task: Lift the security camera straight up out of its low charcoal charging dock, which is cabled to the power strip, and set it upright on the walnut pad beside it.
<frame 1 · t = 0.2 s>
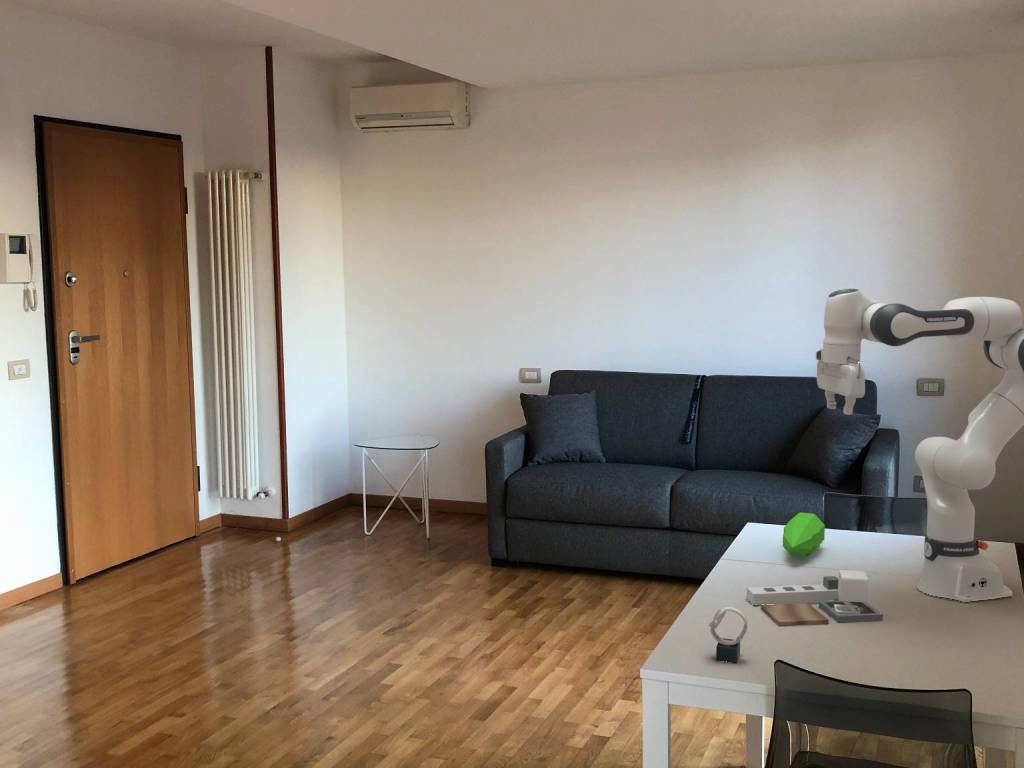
hand: (839, 411, 261), 47 cm above the table, tool pointing down, fingers open, 8 cm apart
watch: (727, 658, 227), on the table
green faceted elongated piece: (799, 555, 304), on the table
walnut pad: (793, 616, 253), on the table
security camera: (849, 614, 255), resting in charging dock
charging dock: (850, 613, 255), on the table
power strip: (792, 600, 264), on the table
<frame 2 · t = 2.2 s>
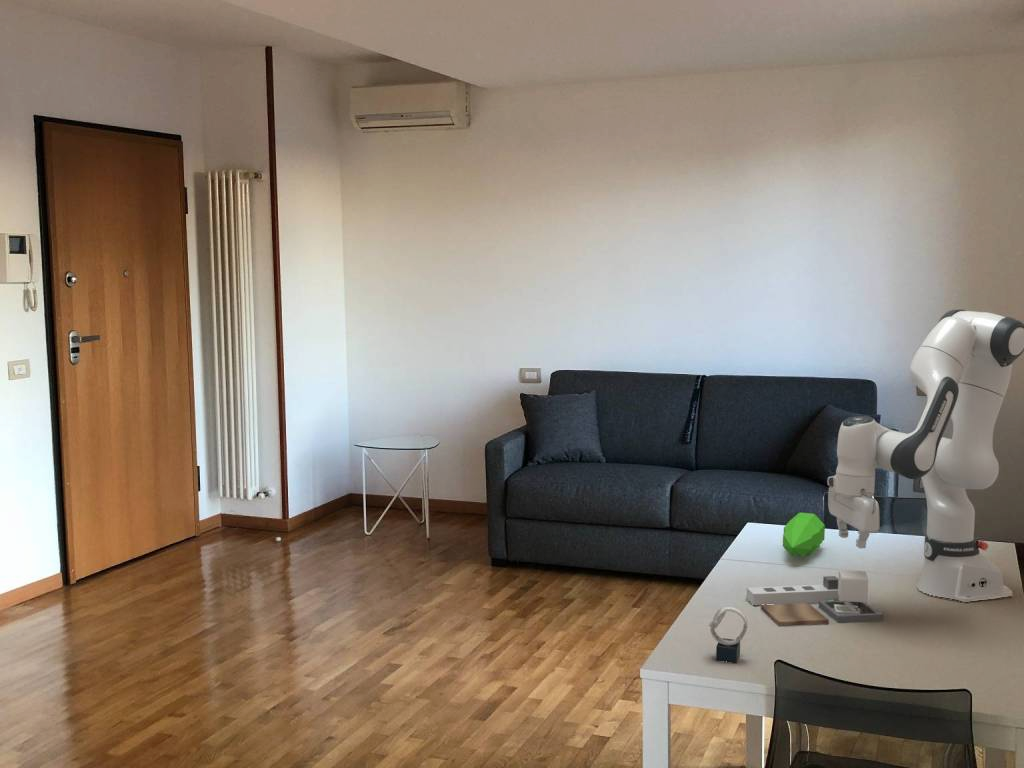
hand: (851, 542, 252), 18 cm above the table, tool pointing down, fingers open, 8 cm apart
nothing on the table moved.
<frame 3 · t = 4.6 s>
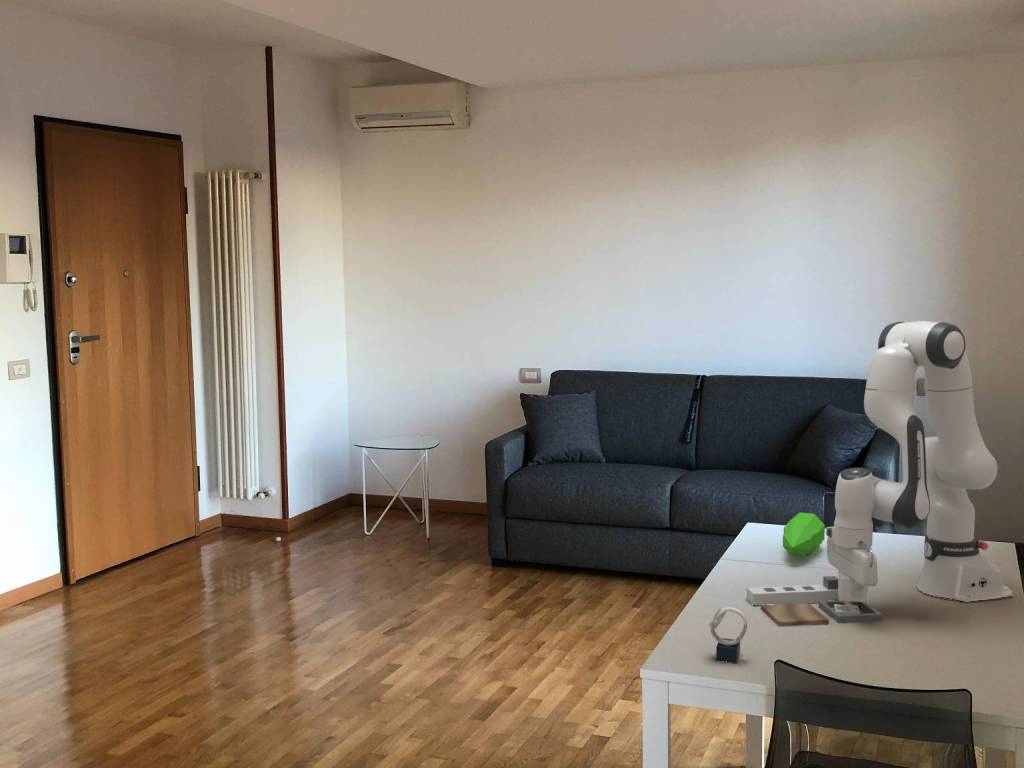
hand: (850, 593, 254), 5 cm above the table, tool pointing down, fingers closed on security camera, 5 cm apart
security camera: (849, 614, 255), resting in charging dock, touching gripper
everything else where it was.
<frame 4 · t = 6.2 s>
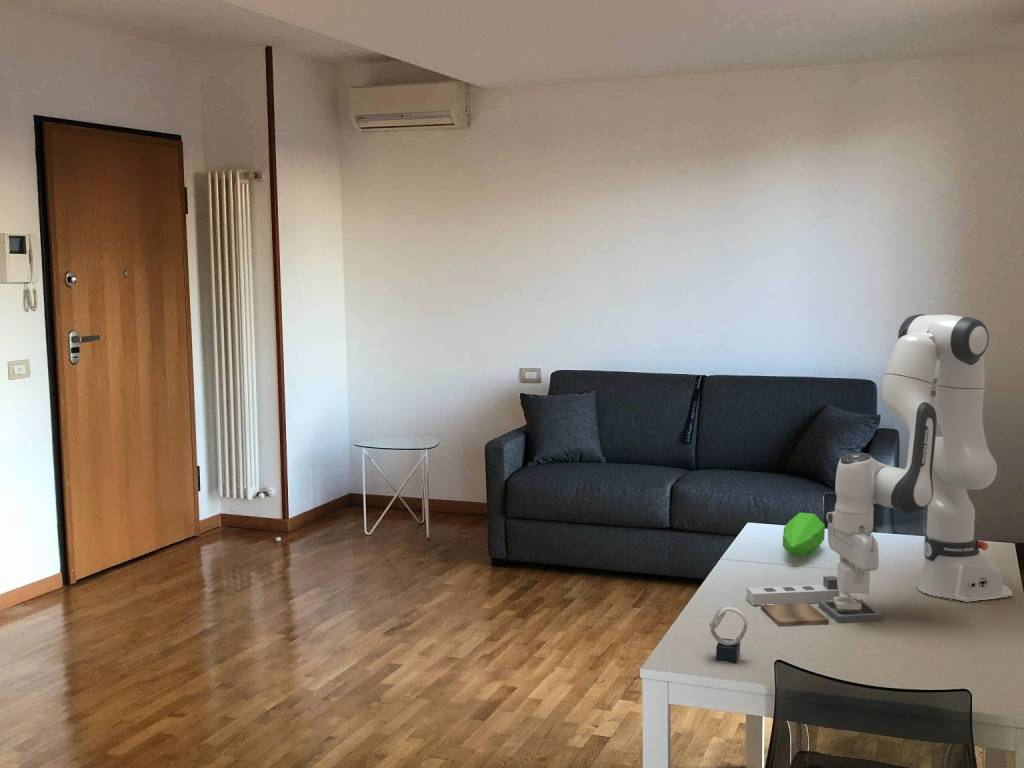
hand: (851, 578, 254), 9 cm above the table, tool pointing down, fingers closed on security camera, 5 cm apart
security camera: (850, 606, 254), point 2 cm above the table, touching gripper
everything else where it was.
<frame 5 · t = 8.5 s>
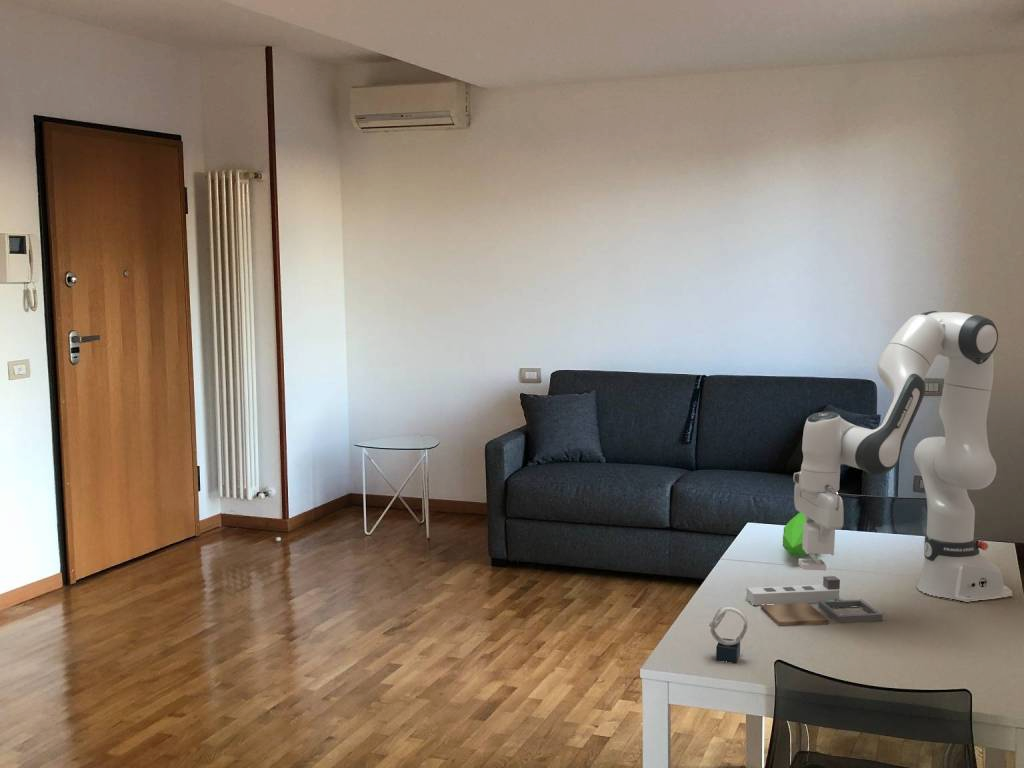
hand: (817, 538, 251), 19 cm above the table, tool pointing down, fingers closed on security camera, 5 cm apart
security camera: (815, 567, 252), point 12 cm above the table, touching gripper
everything else where it was.
when the fingers open (8 cm above the table, at t = 11.1 s): security camera stays where it is, resting on walnut pad.
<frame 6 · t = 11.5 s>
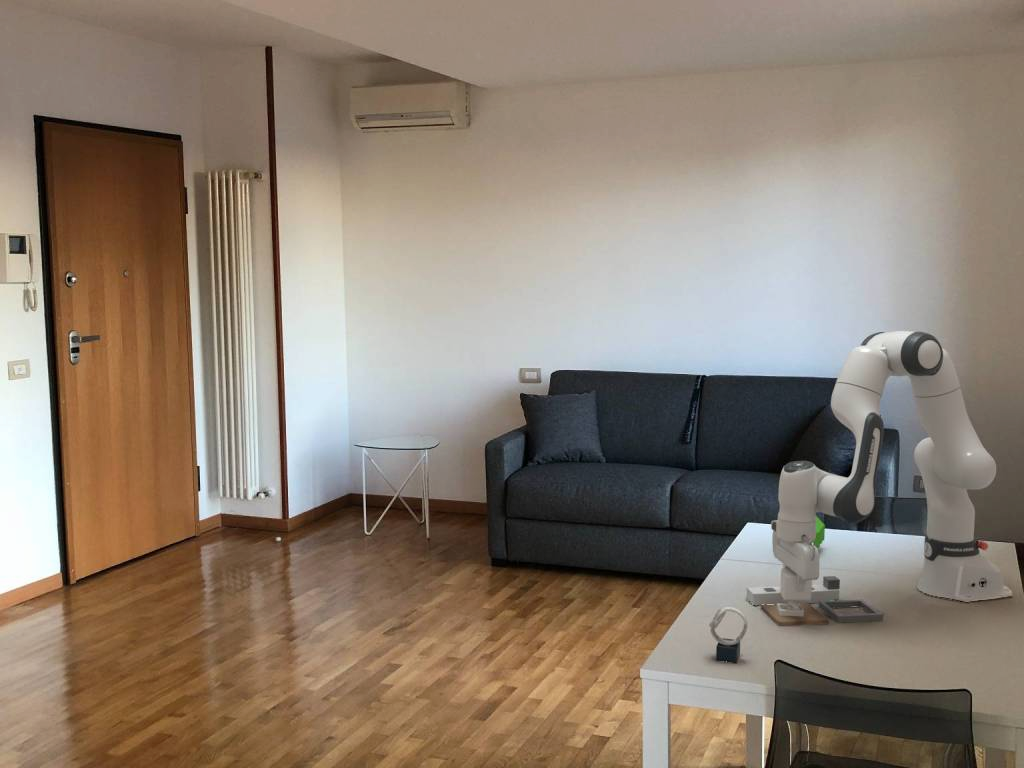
hand: (794, 587, 252), 7 cm above the table, tool pointing down, fingers open, 5 cm apart
security camera: (793, 613, 253), point 1 cm above the table, touching gripper, walnut pad
everything else where it was.
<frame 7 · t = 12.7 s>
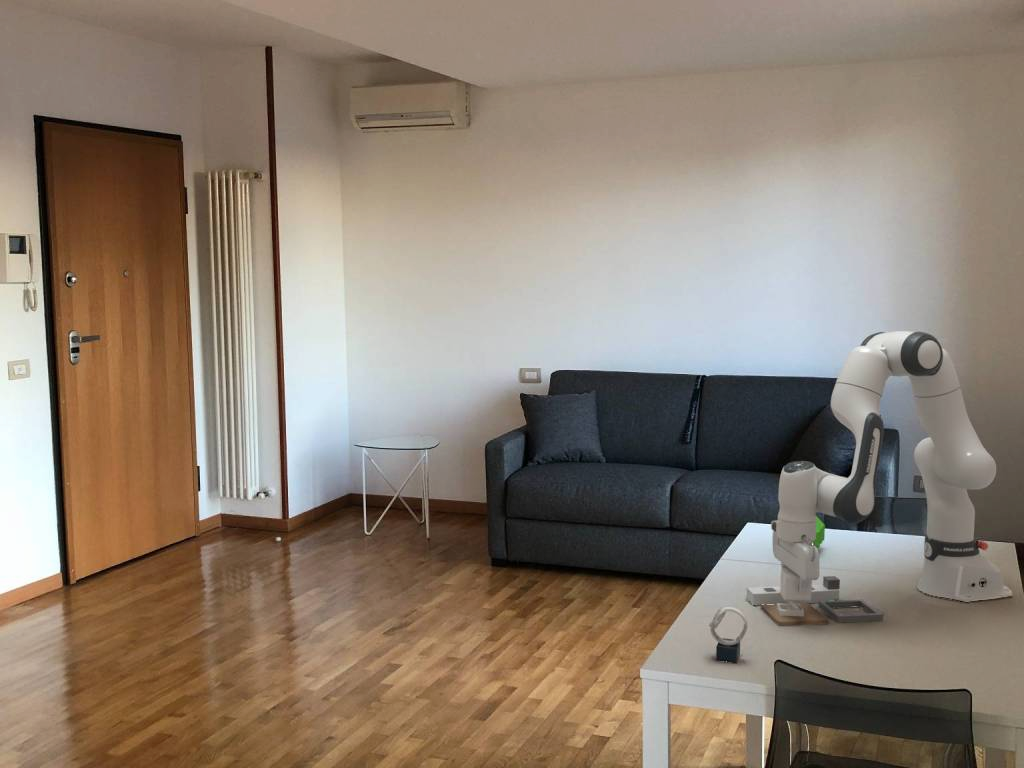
hand: (794, 587, 252), 7 cm above the table, tool pointing down, fingers open, 8 cm apart
security camera: (793, 613, 253), point 1 cm above the table, touching walnut pad
everything else where it was.
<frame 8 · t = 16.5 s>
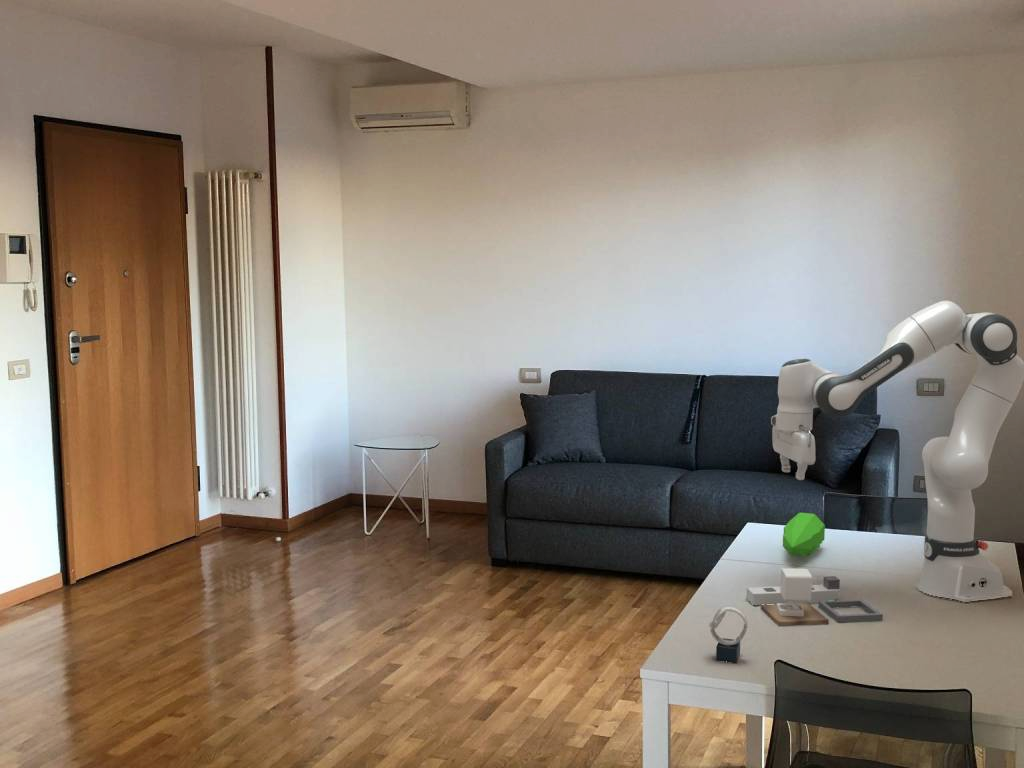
hand: (792, 475, 273), 29 cm above the table, tool pointing down, fingers open, 8 cm apart
nothing on the table moved.
at the end: security camera inside the target area on the walnut pad (0.2 cm from its centre), point 0.8 cm above the walnut pad's base; security camera tilted 0°; the gripper is holding nothing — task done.
